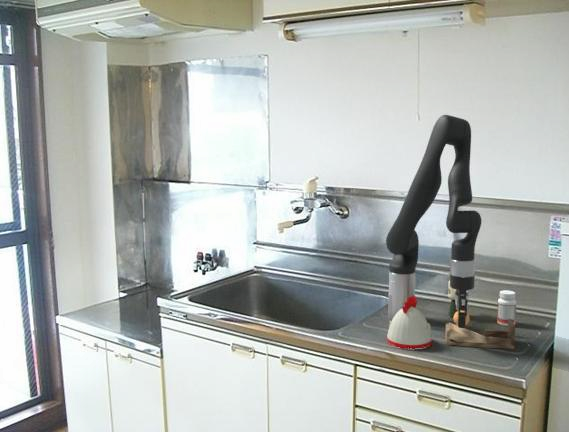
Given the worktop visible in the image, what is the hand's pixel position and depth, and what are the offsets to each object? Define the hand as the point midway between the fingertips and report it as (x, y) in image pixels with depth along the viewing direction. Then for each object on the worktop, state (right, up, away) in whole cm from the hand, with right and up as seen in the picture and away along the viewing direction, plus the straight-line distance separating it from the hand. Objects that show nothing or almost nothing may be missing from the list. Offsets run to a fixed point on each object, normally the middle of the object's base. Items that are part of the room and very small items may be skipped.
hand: (461, 324), depth 201 cm
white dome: (-17, -6, +1) cm, 18 cm away
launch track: (+6, -7, 0) cm, 9 cm away
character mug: (+6, -2, +27) cm, 28 cm away
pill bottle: (+21, -3, +18) cm, 28 cm away
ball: (0, +2, 0) cm, 2 cm away
